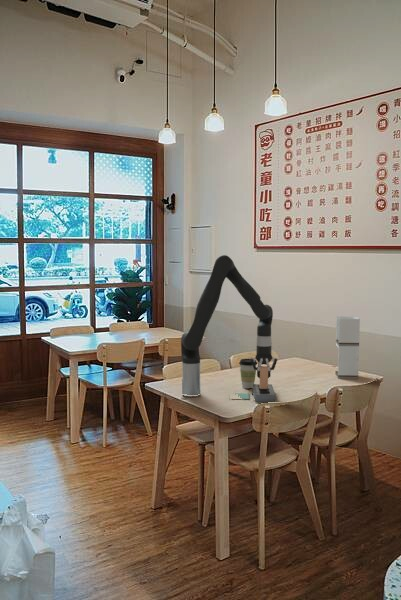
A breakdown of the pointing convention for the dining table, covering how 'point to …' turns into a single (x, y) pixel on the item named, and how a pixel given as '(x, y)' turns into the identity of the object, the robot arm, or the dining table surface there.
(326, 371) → the dining table surface
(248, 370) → the coffee cup
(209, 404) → the dining table surface
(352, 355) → the white banded pillar
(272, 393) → the grey socket block
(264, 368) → the terracotta peg
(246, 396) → the green mat
